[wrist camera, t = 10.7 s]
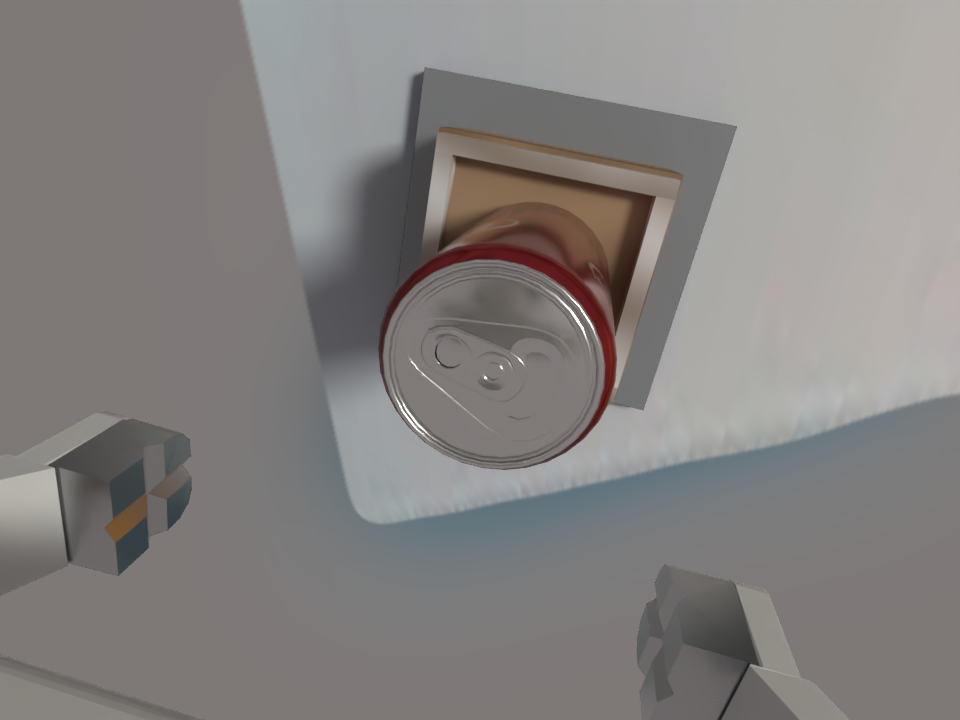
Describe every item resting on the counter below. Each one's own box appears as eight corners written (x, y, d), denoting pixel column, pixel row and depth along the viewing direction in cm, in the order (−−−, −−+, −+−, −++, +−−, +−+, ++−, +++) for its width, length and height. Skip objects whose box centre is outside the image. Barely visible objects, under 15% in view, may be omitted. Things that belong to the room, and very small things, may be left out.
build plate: (429, 69, 31) (424, 67, 30) (732, 126, 29) (736, 126, 28) (394, 342, 37) (389, 348, 36) (642, 403, 35) (643, 410, 34)
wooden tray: (463, 127, 31) (433, 126, 25) (670, 168, 29) (687, 176, 24) (433, 320, 35) (402, 354, 29) (613, 362, 34) (616, 407, 28)
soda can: (639, 247, 26) (670, 329, 15) (560, 373, 29) (538, 517, 18) (500, 170, 26) (430, 197, 15) (434, 305, 29) (336, 408, 18)
